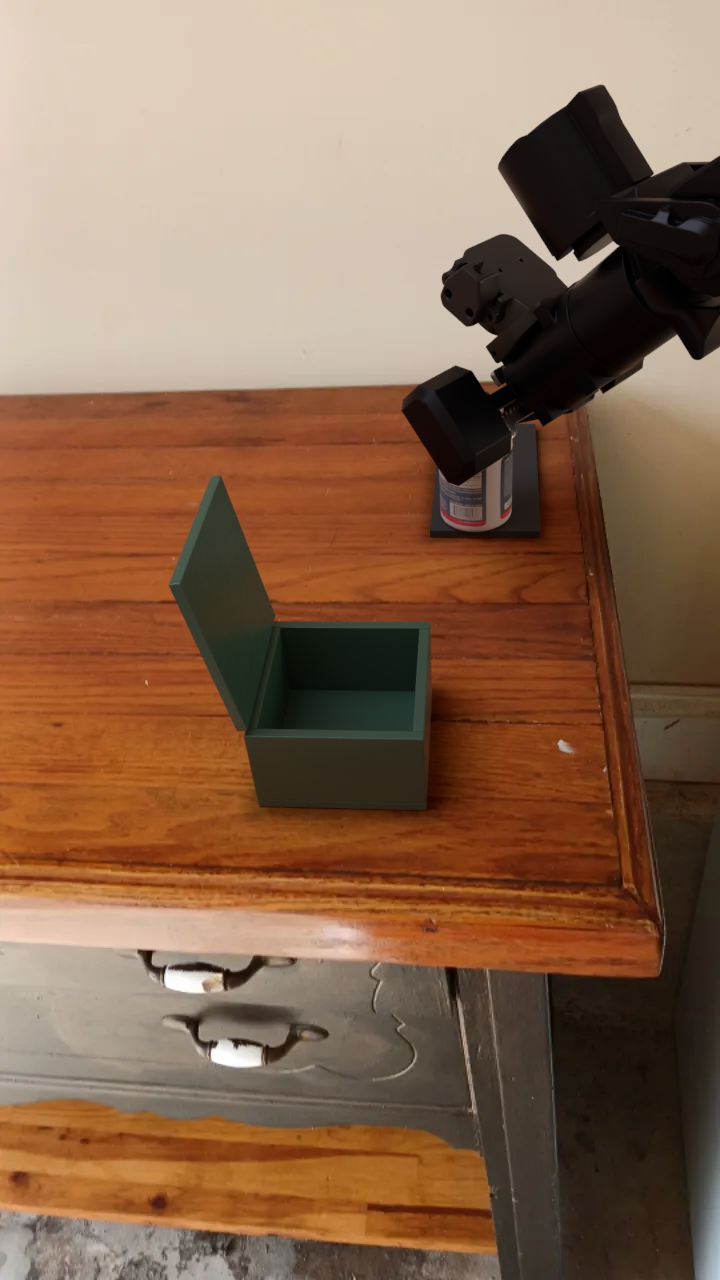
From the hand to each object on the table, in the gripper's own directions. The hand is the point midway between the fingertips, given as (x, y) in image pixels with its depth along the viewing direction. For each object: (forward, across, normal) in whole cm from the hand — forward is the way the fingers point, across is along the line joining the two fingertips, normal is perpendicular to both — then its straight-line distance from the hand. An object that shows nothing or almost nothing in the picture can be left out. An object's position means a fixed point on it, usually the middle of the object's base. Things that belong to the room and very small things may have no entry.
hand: (460, 436), depth 68 cm
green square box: (-3, +22, +12) cm, 25 cm away
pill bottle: (+3, 0, +5) cm, 6 cm away
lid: (-8, +26, +2) cm, 27 cm away
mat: (+6, -5, +3) cm, 9 cm away
